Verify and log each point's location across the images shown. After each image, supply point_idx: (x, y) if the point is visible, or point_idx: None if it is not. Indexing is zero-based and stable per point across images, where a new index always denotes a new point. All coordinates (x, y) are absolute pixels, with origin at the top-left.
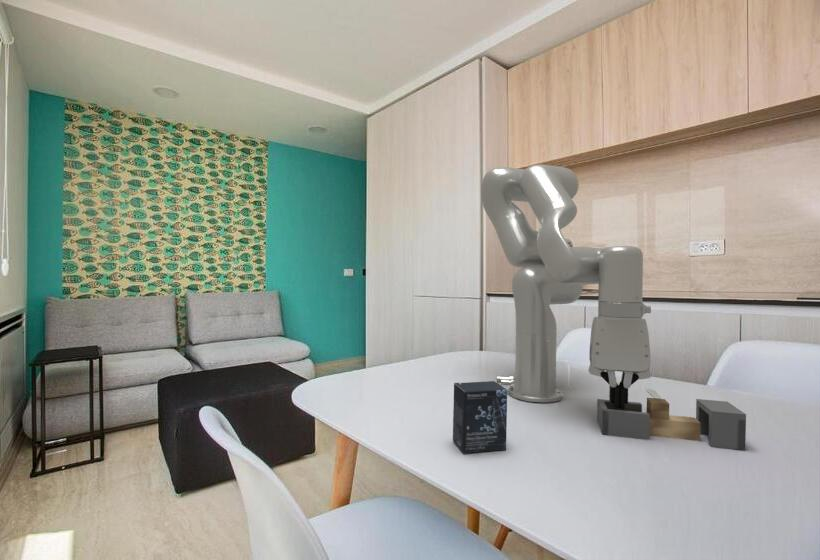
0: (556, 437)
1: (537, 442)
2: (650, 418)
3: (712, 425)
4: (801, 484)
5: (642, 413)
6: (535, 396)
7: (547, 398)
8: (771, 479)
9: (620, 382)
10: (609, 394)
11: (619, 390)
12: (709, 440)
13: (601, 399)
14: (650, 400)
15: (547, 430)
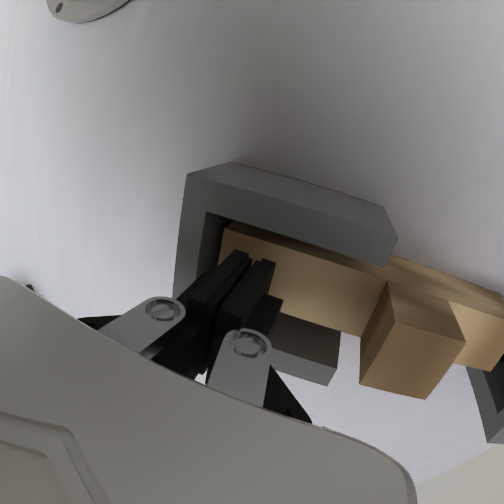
0: (104, 293)
1: (79, 311)
2: (360, 336)
3: (481, 409)
4: (451, 463)
5: (307, 371)
6: (83, 3)
7: (109, 4)
8: (426, 458)
9: (212, 358)
10: (193, 282)
11: (203, 372)
12: (474, 368)
13: (203, 182)
14: (377, 363)
15: (89, 252)
